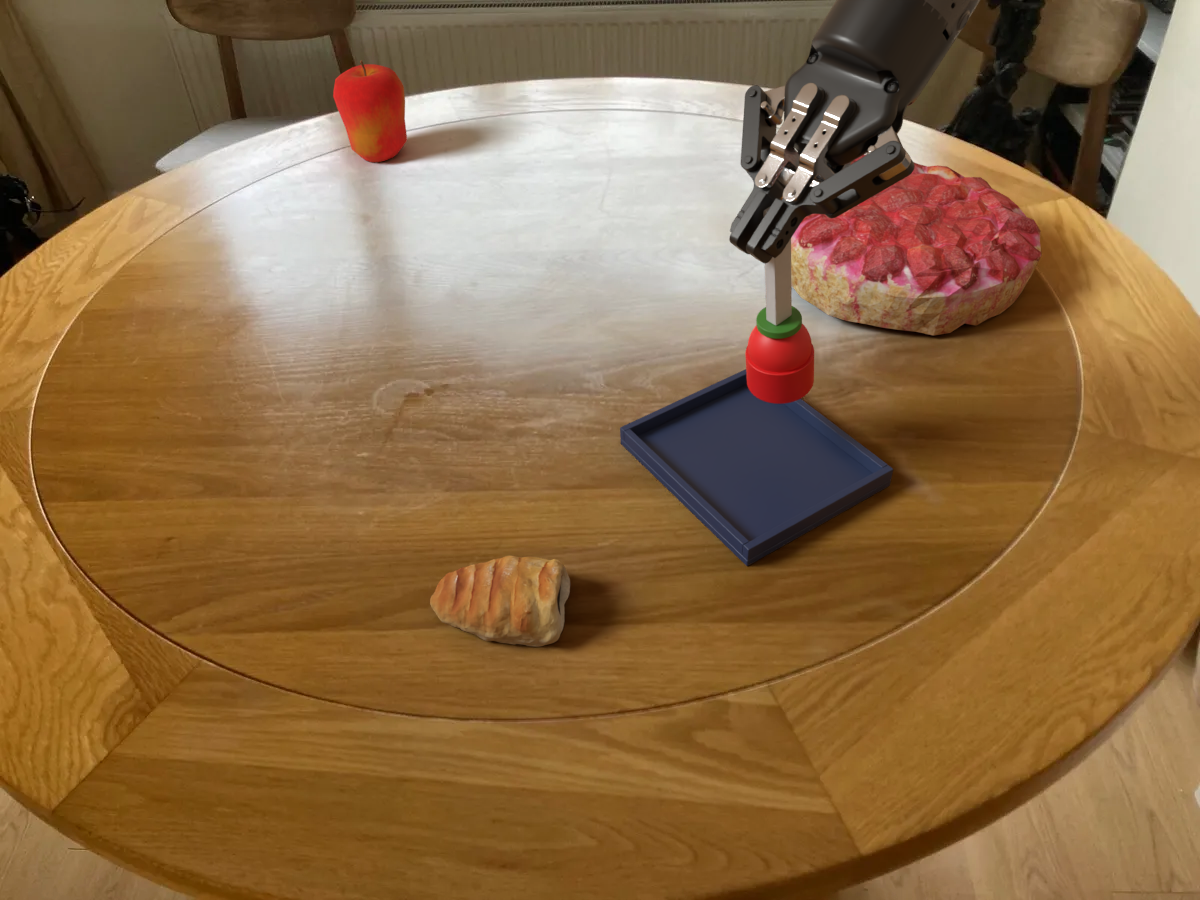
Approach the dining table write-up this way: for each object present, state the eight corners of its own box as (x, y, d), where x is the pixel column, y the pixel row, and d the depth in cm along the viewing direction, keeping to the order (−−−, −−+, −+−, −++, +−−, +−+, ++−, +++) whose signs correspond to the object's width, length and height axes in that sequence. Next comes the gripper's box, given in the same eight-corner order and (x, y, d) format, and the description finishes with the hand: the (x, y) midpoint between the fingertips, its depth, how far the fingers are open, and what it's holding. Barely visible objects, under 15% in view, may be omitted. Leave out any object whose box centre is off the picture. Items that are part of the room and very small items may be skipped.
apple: (418, 164, 119) (400, 68, 111) (349, 173, 117) (326, 77, 109) (411, 135, 125) (395, 42, 117) (346, 144, 124) (325, 51, 116)
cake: (727, 223, 102) (736, 154, 97) (931, 189, 108) (951, 122, 102) (838, 367, 86) (856, 294, 80) (1071, 318, 92) (1104, 247, 86)
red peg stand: (828, 379, 72) (833, 203, 61) (781, 414, 70) (777, 240, 59) (779, 349, 75) (776, 177, 64) (733, 382, 73) (721, 211, 62)
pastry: (426, 648, 64) (416, 612, 62) (444, 571, 69) (436, 535, 67) (564, 652, 64) (561, 616, 61) (573, 574, 69) (569, 538, 66)
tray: (890, 485, 74) (893, 468, 73) (746, 566, 69) (748, 550, 67) (754, 380, 84) (755, 364, 83) (620, 443, 79) (619, 427, 78)
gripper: (795, -52, 60) (648, 191, 63) (979, -2, 52) (800, 274, 55) (842, 16, 66) (705, 235, 69) (1013, 70, 58) (850, 316, 61)
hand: (747, 252), depth 62 cm, fingers closed on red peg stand, 1 cm apart
